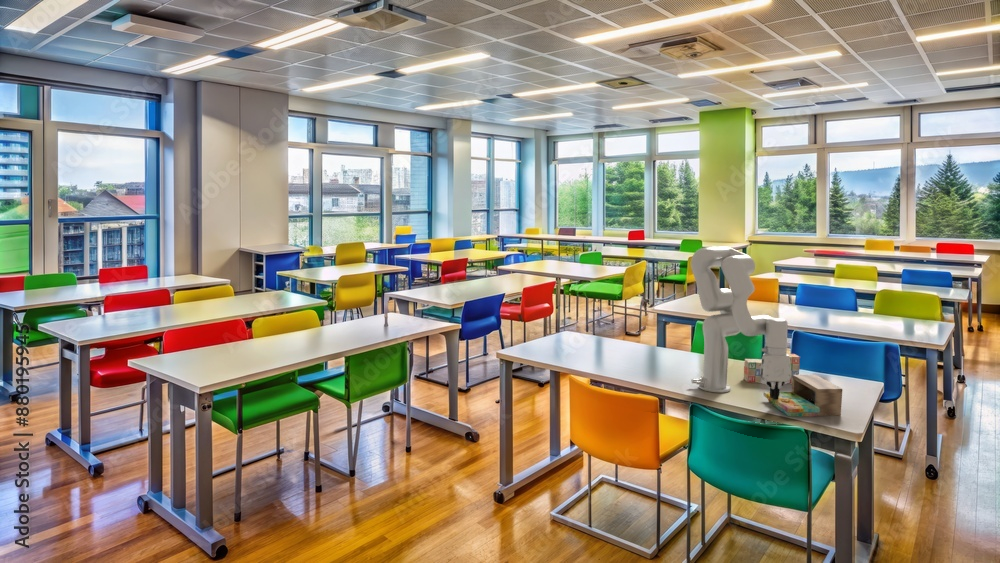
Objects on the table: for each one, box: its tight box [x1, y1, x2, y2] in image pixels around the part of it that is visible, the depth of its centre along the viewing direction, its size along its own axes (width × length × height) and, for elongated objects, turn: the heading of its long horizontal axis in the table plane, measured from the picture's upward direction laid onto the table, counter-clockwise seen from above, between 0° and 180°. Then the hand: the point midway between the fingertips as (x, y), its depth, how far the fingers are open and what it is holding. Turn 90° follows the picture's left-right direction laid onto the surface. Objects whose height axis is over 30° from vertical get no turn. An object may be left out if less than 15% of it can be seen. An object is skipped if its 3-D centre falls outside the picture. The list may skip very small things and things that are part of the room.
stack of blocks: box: [743, 352, 801, 384], centre depth 265 cm, size 21×6×12 cm, turn 83°
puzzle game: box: [762, 391, 820, 417], centre depth 229 cm, size 12×5×20 cm
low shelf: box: [791, 374, 843, 416], centre depth 230 cm, size 9×19×10 cm, turn 0°
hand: (774, 398), depth 229 cm, fingers closed
